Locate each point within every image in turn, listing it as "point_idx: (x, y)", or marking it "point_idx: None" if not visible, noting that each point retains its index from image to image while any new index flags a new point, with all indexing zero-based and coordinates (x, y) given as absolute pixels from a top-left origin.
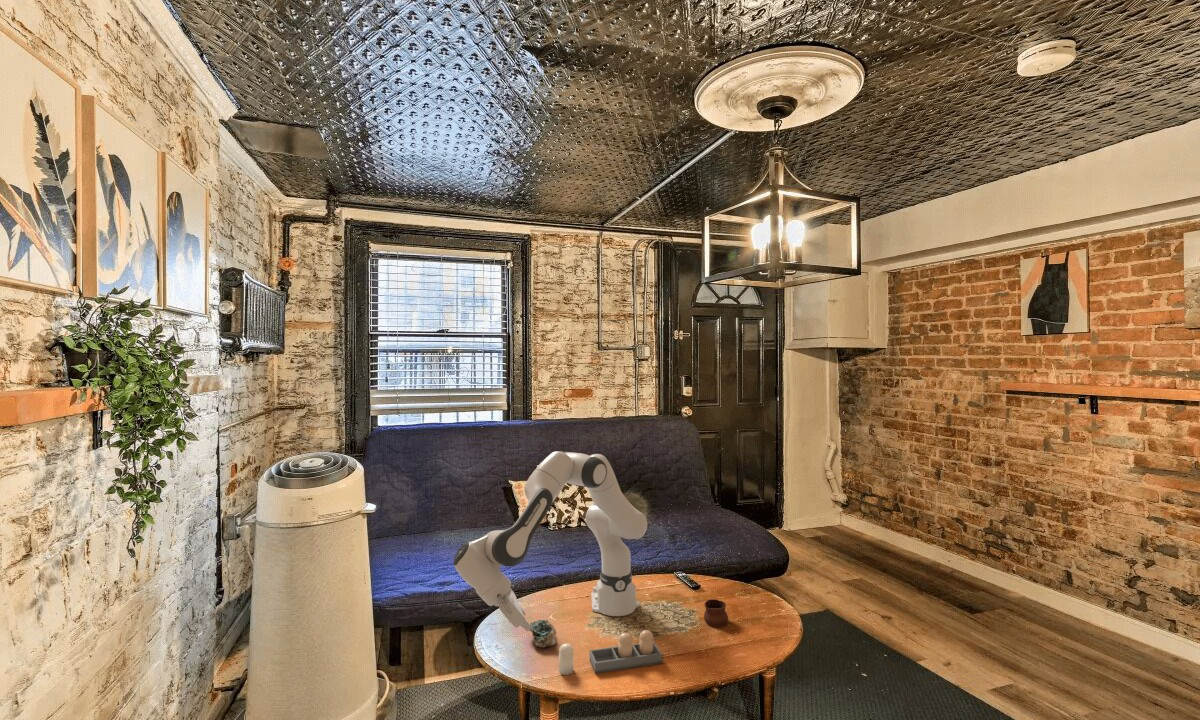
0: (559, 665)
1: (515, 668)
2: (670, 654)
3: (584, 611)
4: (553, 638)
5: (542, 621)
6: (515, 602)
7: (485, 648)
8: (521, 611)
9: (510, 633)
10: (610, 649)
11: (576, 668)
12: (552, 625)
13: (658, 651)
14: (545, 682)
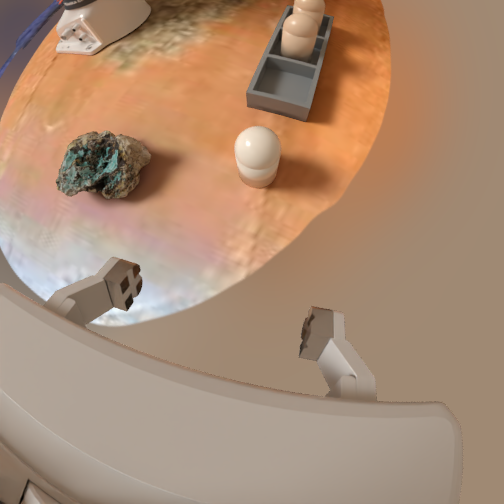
0: (255, 182)
1: (174, 283)
2: None
3: (82, 67)
4: (141, 148)
5: (72, 152)
6: (235, 476)
7: None
8: (381, 434)
9: (45, 231)
10: (266, 59)
11: None
12: (88, 133)
13: (325, 16)
14: (277, 239)
